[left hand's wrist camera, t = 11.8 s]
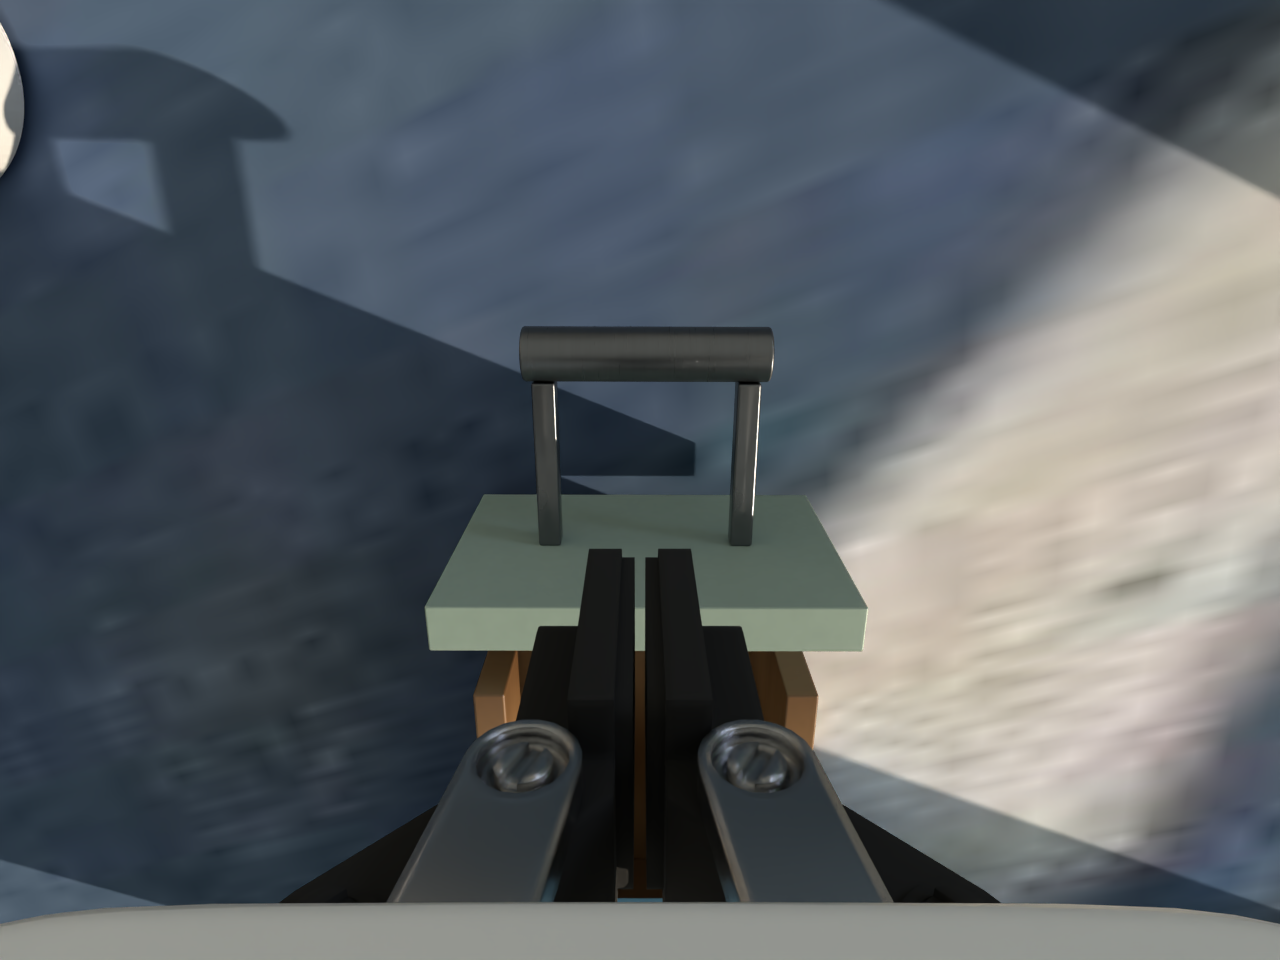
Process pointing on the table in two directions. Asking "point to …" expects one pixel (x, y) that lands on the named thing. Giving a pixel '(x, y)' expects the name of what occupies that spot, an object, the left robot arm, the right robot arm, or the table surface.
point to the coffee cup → (9, 103)
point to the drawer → (648, 542)
